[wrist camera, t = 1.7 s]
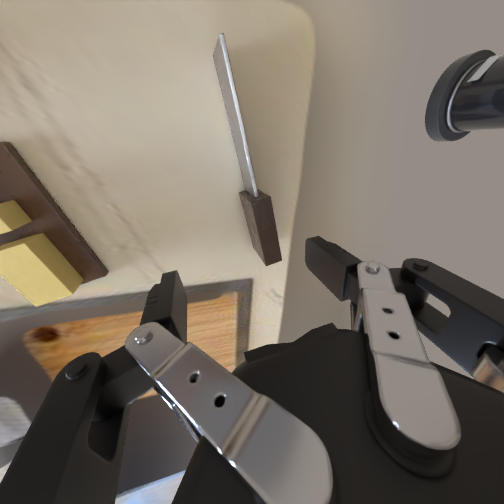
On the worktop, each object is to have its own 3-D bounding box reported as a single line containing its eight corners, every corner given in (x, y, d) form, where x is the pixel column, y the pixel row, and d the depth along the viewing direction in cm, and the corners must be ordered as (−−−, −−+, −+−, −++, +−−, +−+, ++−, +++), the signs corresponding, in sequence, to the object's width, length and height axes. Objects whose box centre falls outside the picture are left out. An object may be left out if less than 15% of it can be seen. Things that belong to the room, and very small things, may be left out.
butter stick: (43, 232, 22) (24, 243, 20) (84, 279, 26) (72, 294, 23) (3, 244, 22) (-22, 256, 19) (51, 291, 25) (36, 307, 23)
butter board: (9, 142, 19) (1, 141, 18) (108, 272, 27) (106, 276, 26) (-101, 168, 18) (-116, 169, 17) (38, 295, 26) (33, 300, 25)
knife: (267, 242, 32) (282, 260, 27) (253, 247, 32) (266, 266, 27) (225, 52, 20) (239, 20, 15) (203, 57, 20) (209, 26, 15)
